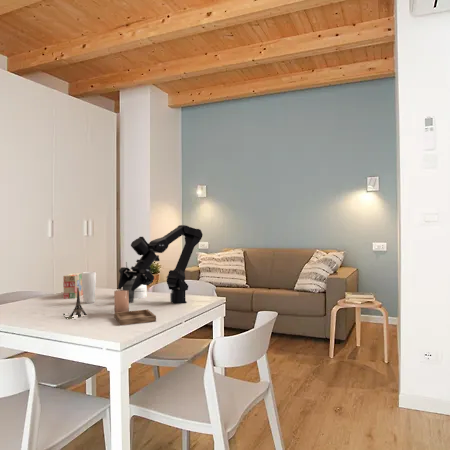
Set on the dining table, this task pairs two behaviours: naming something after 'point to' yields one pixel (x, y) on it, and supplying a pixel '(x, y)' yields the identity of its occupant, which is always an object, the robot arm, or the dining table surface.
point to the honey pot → (139, 290)
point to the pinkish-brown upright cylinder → (121, 301)
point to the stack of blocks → (72, 285)
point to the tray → (134, 317)
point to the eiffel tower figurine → (77, 308)
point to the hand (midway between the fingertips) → (125, 289)
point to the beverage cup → (129, 288)
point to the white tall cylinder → (88, 286)
